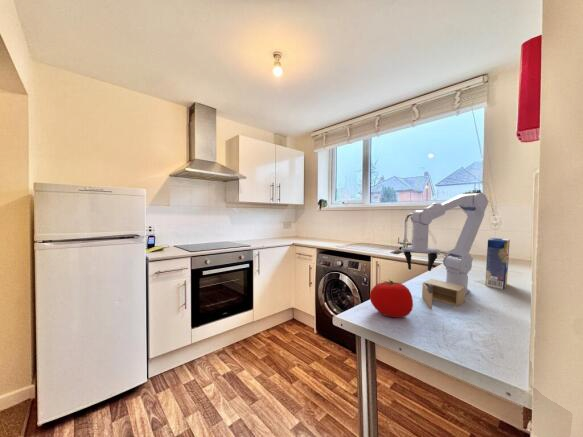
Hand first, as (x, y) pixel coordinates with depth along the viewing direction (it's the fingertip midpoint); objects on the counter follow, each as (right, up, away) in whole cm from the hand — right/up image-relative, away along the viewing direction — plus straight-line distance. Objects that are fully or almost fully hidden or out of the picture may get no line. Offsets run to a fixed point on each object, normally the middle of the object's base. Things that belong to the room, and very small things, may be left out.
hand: (419, 269), depth 103 cm
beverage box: (+44, -10, +13) cm, 47 cm away
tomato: (-20, -12, -19) cm, 30 cm away
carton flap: (-2, -11, -9) cm, 14 cm away
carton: (+7, -11, -5) cm, 14 cm away
